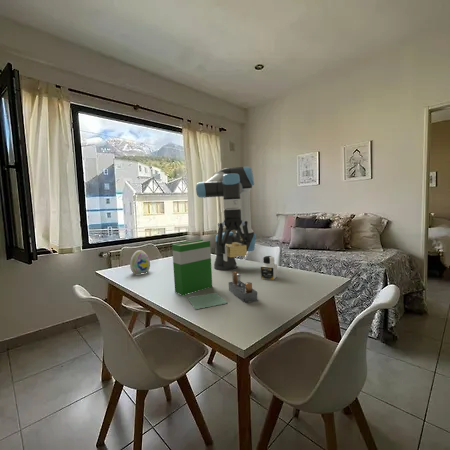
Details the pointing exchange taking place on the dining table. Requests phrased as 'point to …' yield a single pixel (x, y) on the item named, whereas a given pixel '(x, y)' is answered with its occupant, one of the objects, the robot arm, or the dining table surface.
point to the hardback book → (192, 266)
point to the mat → (206, 300)
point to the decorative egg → (140, 262)
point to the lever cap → (236, 249)
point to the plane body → (242, 289)
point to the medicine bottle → (268, 268)
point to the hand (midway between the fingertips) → (234, 259)
